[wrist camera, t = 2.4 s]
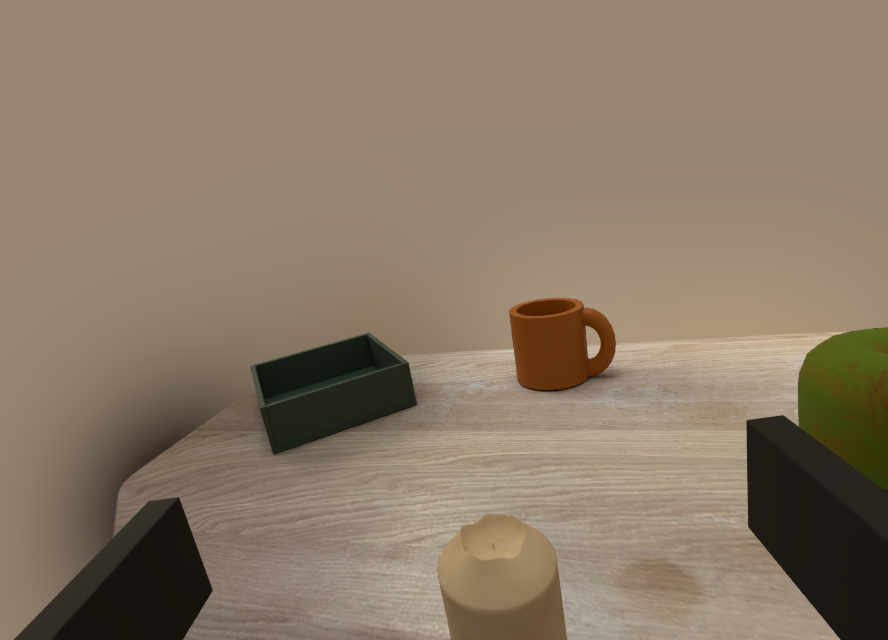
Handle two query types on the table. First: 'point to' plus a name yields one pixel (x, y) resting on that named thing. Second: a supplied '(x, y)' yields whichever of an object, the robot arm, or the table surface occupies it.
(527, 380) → the mug
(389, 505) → the table surface
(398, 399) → the bin
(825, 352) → the apple
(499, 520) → the candle
